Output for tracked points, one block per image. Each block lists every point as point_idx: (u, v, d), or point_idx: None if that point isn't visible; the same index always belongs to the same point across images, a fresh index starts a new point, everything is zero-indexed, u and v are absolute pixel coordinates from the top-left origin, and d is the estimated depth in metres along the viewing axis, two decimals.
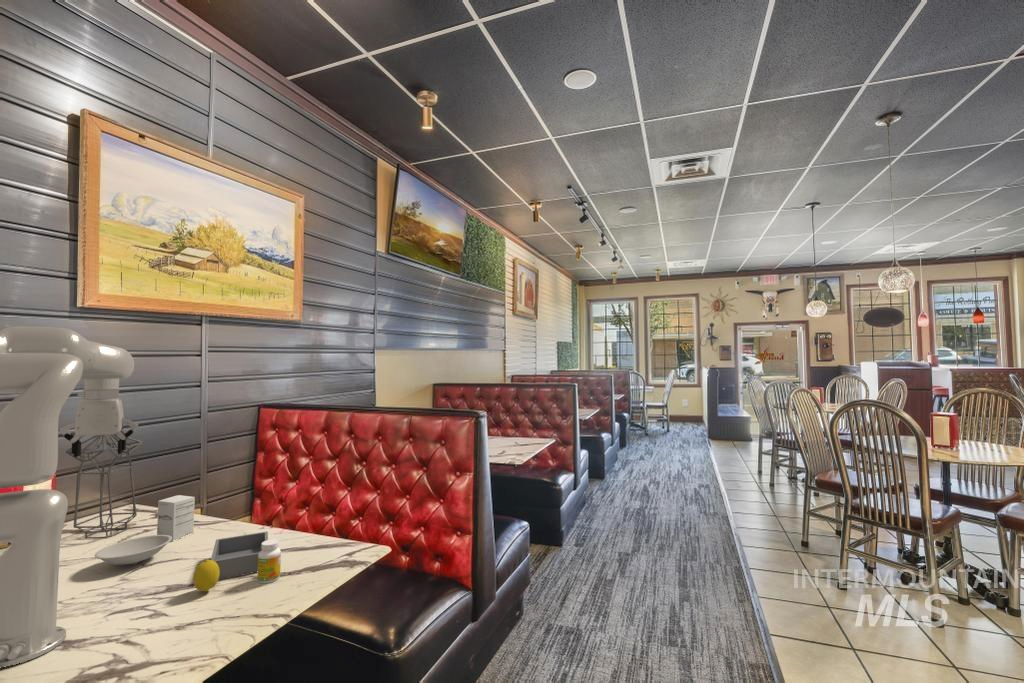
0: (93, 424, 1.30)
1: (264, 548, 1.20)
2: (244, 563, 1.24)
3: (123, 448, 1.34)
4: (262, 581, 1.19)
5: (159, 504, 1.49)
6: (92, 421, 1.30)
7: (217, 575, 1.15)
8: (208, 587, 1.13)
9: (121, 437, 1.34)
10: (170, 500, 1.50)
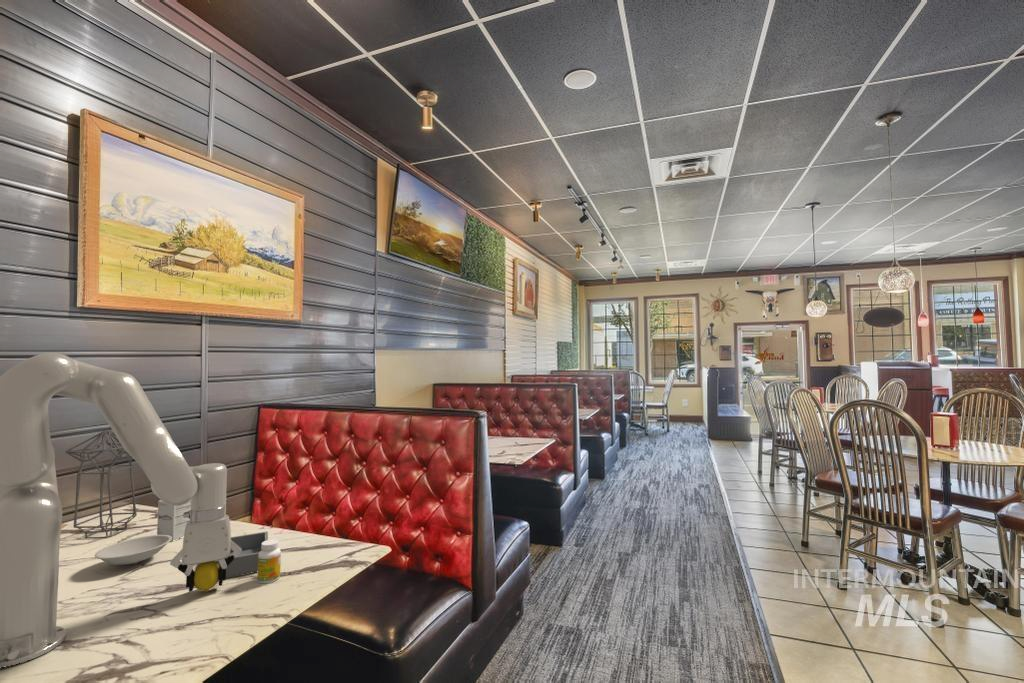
0: (202, 550, 1.12)
1: (264, 548, 1.20)
2: (244, 563, 1.24)
3: (224, 578, 1.16)
4: (262, 581, 1.19)
5: (159, 504, 1.49)
6: (200, 546, 1.12)
7: (217, 575, 1.15)
8: (208, 587, 1.13)
9: (222, 566, 1.15)
10: None
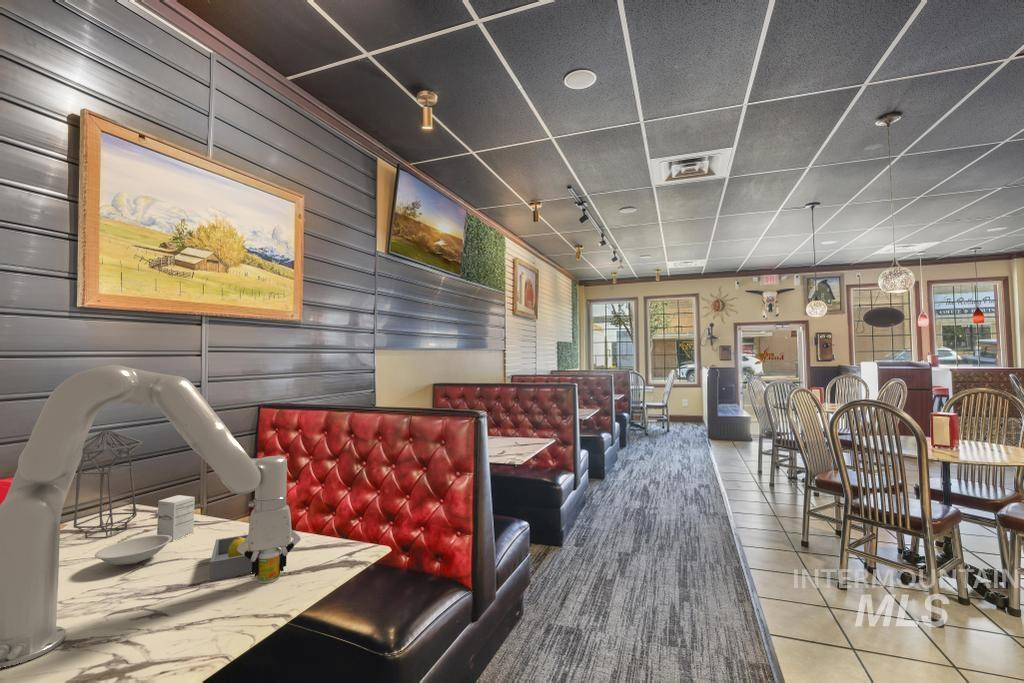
0: (266, 537, 1.19)
1: None
2: (244, 563, 1.24)
3: (285, 564, 1.23)
4: (262, 581, 1.19)
5: (159, 504, 1.49)
6: (265, 534, 1.19)
7: None
8: None
9: (283, 553, 1.22)
10: (170, 500, 1.50)
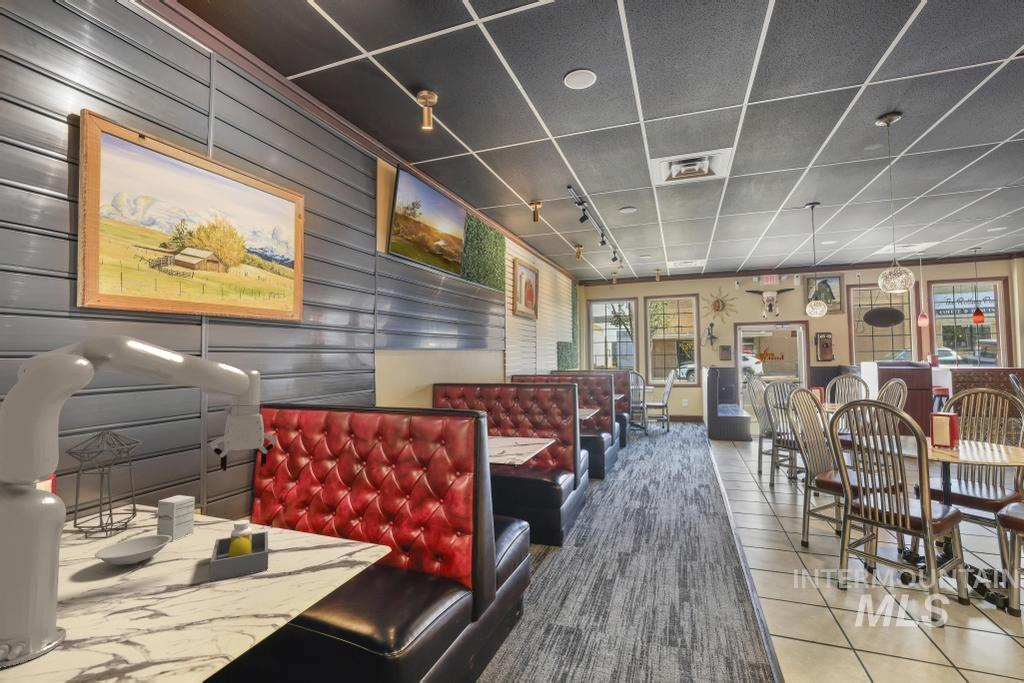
0: (240, 439, 1.33)
1: (236, 527, 1.33)
2: (244, 563, 1.24)
3: (265, 462, 1.38)
4: None
5: (159, 504, 1.49)
6: (239, 436, 1.33)
7: None
8: None
9: (263, 451, 1.37)
10: (170, 500, 1.50)
